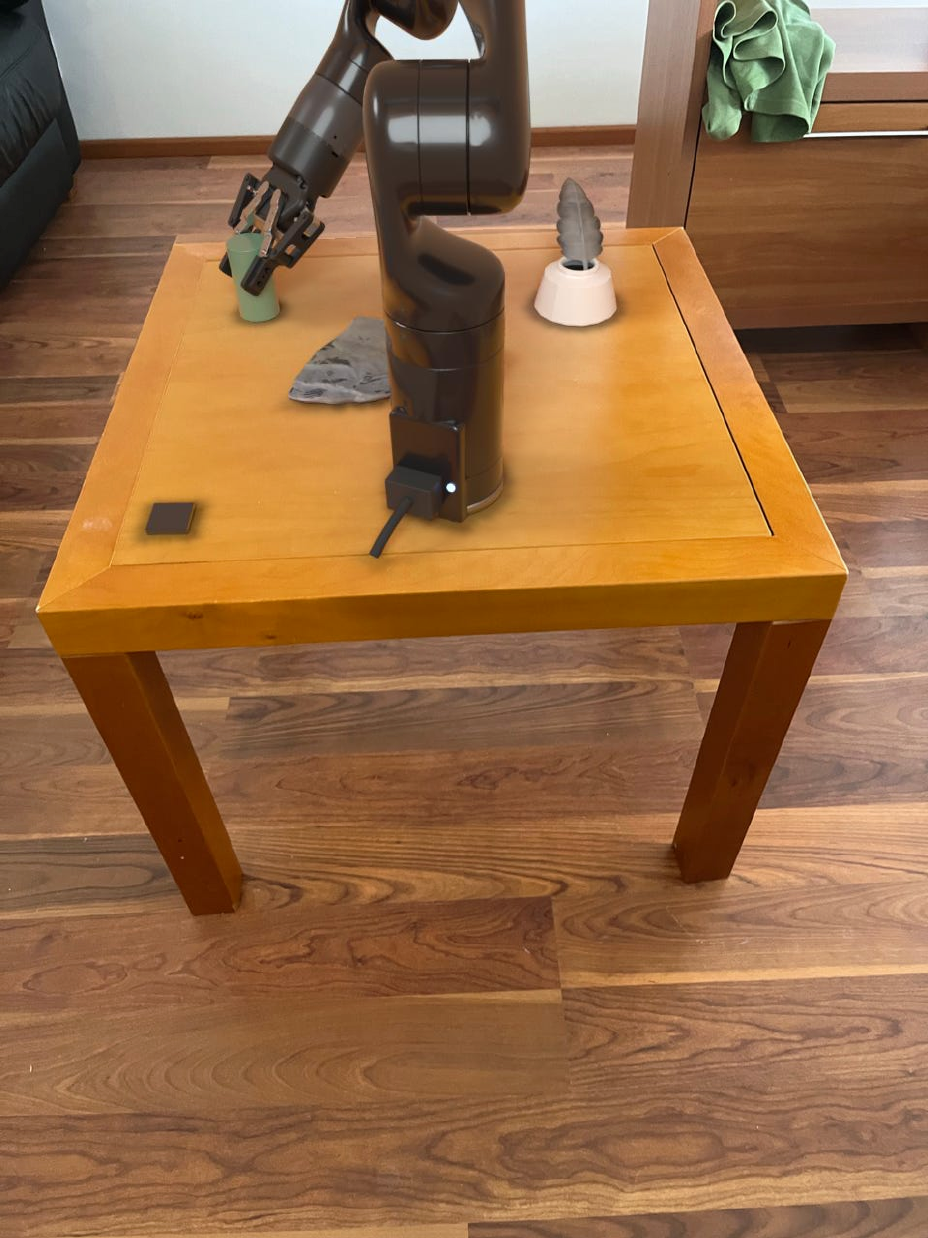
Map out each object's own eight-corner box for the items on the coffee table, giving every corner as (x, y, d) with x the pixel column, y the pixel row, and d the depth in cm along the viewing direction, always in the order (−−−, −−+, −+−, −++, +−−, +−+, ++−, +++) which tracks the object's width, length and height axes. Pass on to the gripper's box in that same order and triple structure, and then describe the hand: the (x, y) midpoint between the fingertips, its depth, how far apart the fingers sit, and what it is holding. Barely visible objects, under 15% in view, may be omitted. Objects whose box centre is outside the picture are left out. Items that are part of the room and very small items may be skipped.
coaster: (188, 533, 78) (186, 528, 78) (146, 534, 78) (144, 529, 78) (195, 507, 81) (194, 501, 80) (155, 507, 81) (153, 502, 80)
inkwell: (540, 329, 100) (544, 238, 93) (517, 254, 113) (520, 168, 106) (625, 324, 101) (635, 233, 94) (593, 249, 113) (600, 163, 106)
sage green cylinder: (266, 325, 102) (253, 253, 96) (232, 317, 103) (217, 246, 97) (287, 306, 105) (275, 236, 99) (253, 299, 106) (240, 229, 100)
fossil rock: (499, 350, 98) (499, 329, 96) (462, 432, 88) (461, 411, 86) (341, 329, 101) (339, 309, 99) (288, 406, 91) (285, 385, 90)
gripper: (260, 96, 97) (180, 242, 101) (331, 135, 89) (241, 292, 93) (310, 138, 103) (233, 274, 107) (381, 178, 95) (295, 324, 99)
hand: (237, 282), depth 100 cm, fingers closed on sage green cylinder, 4 cm apart
